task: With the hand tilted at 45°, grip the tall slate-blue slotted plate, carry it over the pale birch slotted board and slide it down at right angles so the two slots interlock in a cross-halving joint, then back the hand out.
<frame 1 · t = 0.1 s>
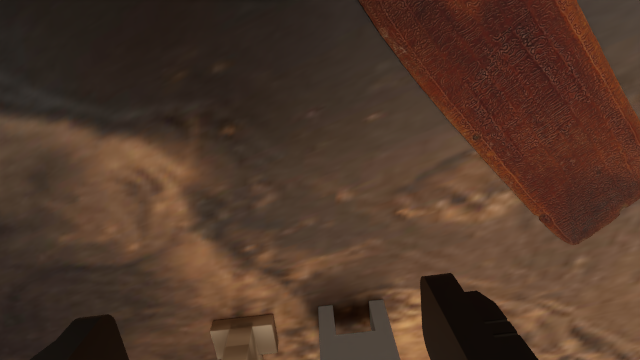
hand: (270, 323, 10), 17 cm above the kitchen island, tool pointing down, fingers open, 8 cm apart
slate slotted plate: (351, 314, 32), on the kitchen island
wooden tablet: (518, 91, 26), on the kitchen island
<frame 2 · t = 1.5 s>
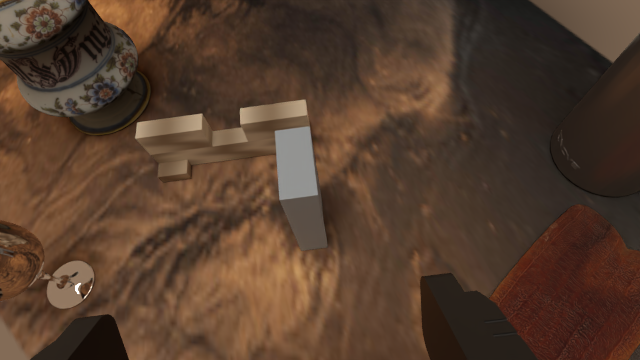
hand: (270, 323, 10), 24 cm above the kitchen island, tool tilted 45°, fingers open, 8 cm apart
birch slotted board: (238, 151, 40), on the kitchen island
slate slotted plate: (311, 221, 36), on the kitchen island
wooden tablet: (533, 345, 31), on the kitchen island
wineglass: (72, 284, 36), on the kitchen island
apothecary jar: (111, 101, 45), on the kitchen island
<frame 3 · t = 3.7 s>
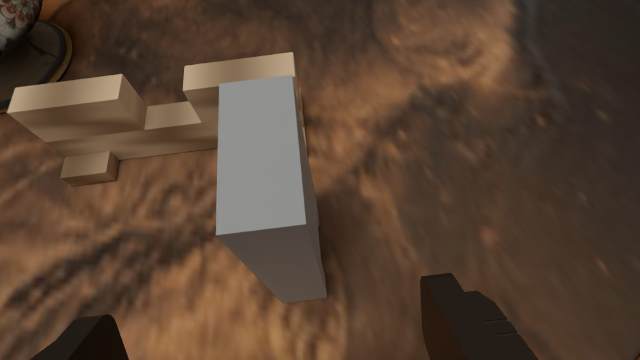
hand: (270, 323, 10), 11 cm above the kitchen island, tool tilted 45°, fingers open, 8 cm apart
birch slotted board: (191, 140, 26), on the kitchen island
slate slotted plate: (301, 253, 22), on the kitchen island
apothecary jar: (15, 68, 31), on the kitchen island
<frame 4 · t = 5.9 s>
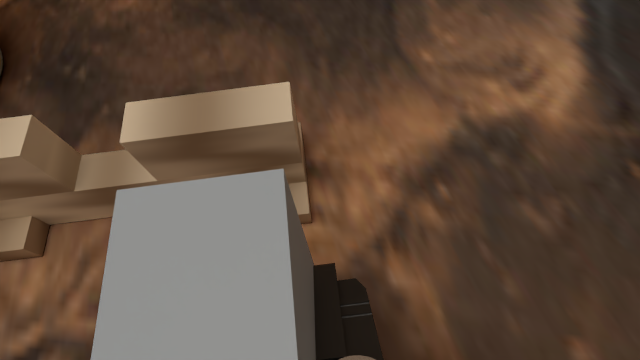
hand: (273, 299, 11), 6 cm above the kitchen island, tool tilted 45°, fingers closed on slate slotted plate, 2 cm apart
birch slotted board: (150, 196, 19), on the kitchen island
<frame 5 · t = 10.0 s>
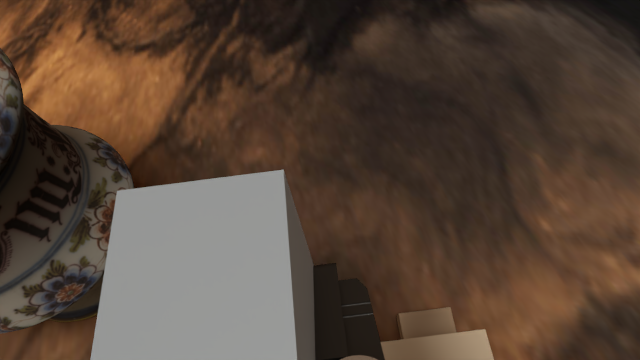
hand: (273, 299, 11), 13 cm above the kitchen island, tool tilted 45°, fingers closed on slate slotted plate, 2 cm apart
apothecary jar: (89, 248, 27), on the kitchen island
when the fingers open (8 cm above the kitchen island, at t = 12.3 s): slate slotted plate drops 2 cm, on the kitchen island.
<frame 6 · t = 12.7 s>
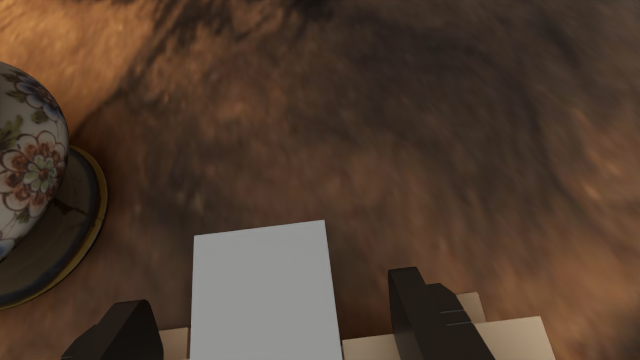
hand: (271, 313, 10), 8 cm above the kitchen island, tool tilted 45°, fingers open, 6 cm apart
apothecary jar: (24, 220, 21), on the kitchen island
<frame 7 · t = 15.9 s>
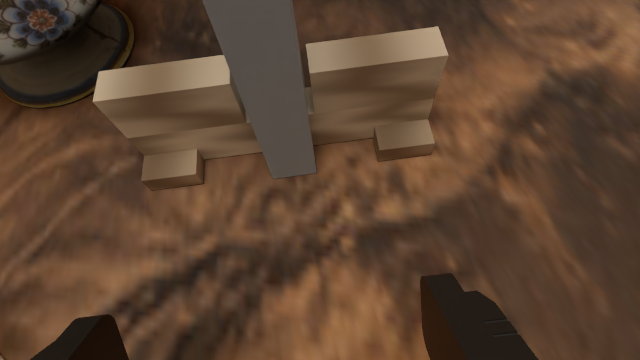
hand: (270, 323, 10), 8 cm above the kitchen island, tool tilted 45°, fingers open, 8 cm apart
birch slotted board: (287, 135, 23), on the kitchen island
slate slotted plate: (290, 136, 23), on the kitchen island
apothecary jar: (68, 55, 27), on the kitchen island
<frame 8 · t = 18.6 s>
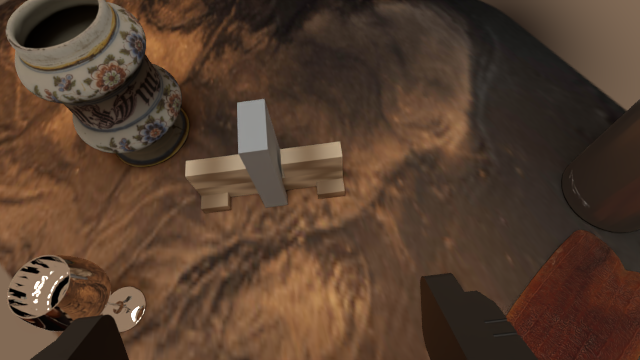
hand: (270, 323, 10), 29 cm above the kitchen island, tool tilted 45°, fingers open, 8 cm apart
birch slotted board: (273, 184, 44), on the kitchen island
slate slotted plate: (275, 184, 44), on the kitchen island
wooden tablet: (545, 359, 35), on the kitchen island
wineglass: (125, 309, 39), on the kitchen island
apothecary jar: (152, 134, 49), on the kitchen island
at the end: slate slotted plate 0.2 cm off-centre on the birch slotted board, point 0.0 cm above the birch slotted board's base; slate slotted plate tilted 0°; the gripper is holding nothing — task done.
